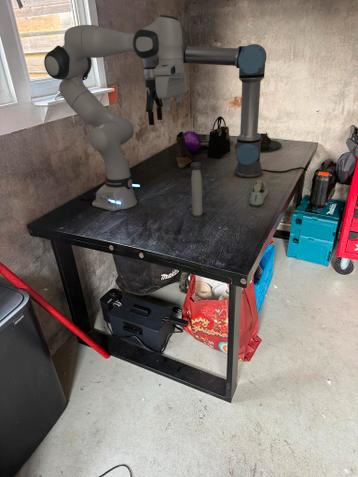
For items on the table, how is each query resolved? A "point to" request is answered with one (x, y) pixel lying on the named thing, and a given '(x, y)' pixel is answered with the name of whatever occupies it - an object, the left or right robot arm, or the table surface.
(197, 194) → the bottle
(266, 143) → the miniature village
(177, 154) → the boot
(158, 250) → the table surface
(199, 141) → the decorative orb
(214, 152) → the handbag
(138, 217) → the table surface
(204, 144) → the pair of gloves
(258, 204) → the ballet flat
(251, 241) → the table surface
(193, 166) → the cap
